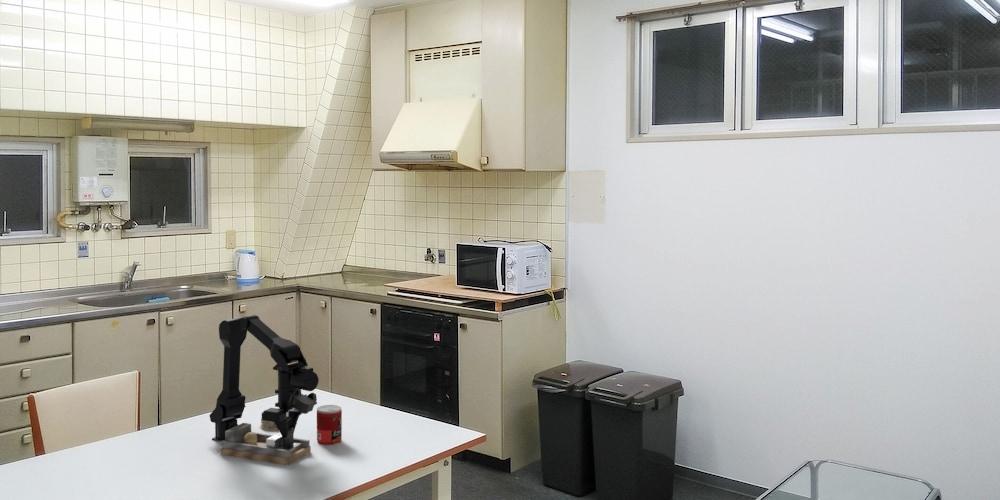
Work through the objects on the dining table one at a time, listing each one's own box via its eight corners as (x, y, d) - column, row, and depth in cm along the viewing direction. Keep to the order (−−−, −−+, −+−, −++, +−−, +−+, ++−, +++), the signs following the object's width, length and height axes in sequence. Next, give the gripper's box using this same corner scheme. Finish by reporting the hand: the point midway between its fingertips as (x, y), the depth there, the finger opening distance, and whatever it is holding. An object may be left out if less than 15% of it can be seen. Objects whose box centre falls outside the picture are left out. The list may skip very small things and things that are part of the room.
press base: (220, 454, 243) (220, 432, 242) (245, 442, 254) (245, 421, 254) (288, 465, 235) (288, 442, 235) (310, 452, 247) (310, 430, 246)
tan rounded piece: (241, 446, 245) (241, 433, 245) (249, 442, 249) (249, 429, 249) (252, 447, 244) (252, 435, 243) (260, 443, 248) (260, 431, 247)
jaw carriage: (266, 452, 240) (266, 429, 239) (281, 443, 247) (281, 421, 247) (286, 455, 238) (286, 432, 237) (301, 446, 245) (301, 424, 244)
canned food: (336, 446, 252) (336, 412, 251) (312, 444, 254) (312, 410, 253) (345, 438, 260) (345, 405, 259) (322, 436, 261) (322, 403, 260)
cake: (295, 428, 272) (295, 413, 271) (269, 435, 264) (270, 420, 264) (278, 419, 278) (279, 405, 277) (253, 426, 271) (253, 411, 270)
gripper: (292, 396, 229) (293, 449, 230) (327, 381, 246) (327, 430, 248) (260, 392, 232) (260, 444, 234) (296, 377, 250) (296, 425, 251)
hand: (288, 436), depth 242 cm, fingers closed on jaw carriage, 3 cm apart
